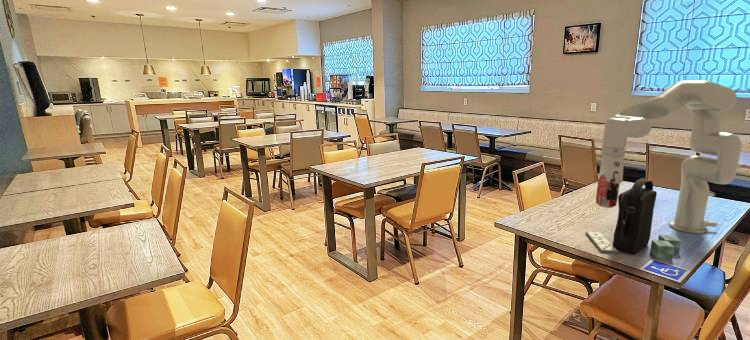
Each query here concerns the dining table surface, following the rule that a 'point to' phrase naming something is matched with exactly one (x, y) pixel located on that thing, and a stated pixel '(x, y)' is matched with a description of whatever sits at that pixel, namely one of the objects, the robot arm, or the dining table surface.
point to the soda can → (604, 193)
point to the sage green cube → (662, 249)
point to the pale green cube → (671, 241)
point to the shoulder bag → (635, 217)
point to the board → (601, 242)
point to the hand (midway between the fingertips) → (606, 196)
